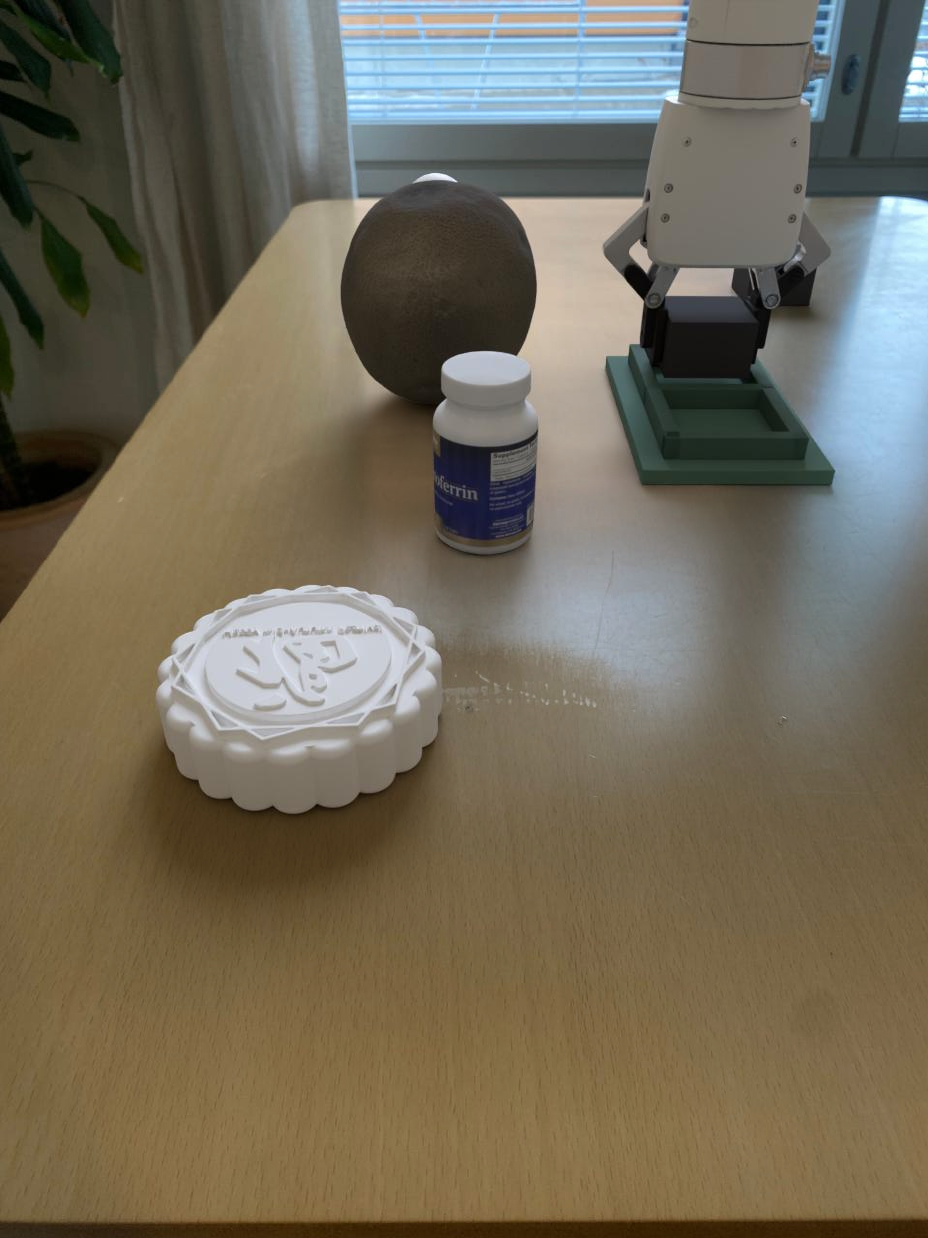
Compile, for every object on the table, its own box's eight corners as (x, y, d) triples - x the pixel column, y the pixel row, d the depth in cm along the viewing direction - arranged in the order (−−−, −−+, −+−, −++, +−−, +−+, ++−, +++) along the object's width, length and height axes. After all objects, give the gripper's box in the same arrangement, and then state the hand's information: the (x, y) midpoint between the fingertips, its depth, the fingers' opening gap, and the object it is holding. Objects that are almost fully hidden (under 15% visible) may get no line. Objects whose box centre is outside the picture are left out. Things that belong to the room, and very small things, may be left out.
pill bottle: (415, 526, 55) (409, 361, 49) (492, 499, 58) (495, 339, 52) (474, 569, 51) (475, 396, 46) (553, 537, 54) (564, 370, 48)
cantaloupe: (305, 406, 69) (282, 186, 61) (432, 354, 78) (428, 155, 69) (451, 462, 62) (449, 220, 53) (573, 397, 71) (589, 181, 62)
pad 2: (791, 286, 93) (800, 244, 91) (809, 305, 89) (818, 261, 86) (731, 286, 93) (737, 244, 91) (745, 305, 89) (752, 261, 86)
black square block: (730, 349, 72) (739, 295, 69) (748, 378, 67) (759, 322, 64) (651, 348, 72) (657, 295, 69) (664, 378, 67) (671, 322, 64)
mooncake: (138, 824, 37) (119, 756, 34) (194, 638, 46) (181, 577, 44) (447, 812, 37) (446, 745, 35) (438, 631, 47) (437, 570, 45)
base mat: (754, 367, 76) (760, 337, 74) (831, 484, 59) (841, 448, 58) (605, 367, 76) (607, 336, 74) (641, 484, 59) (645, 448, 58)
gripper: (861, 69, 61) (802, 340, 72) (596, 68, 62) (576, 339, 72) (904, 83, 55) (833, 377, 66) (610, 81, 55) (586, 376, 66)
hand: (699, 355), depth 69 cm, fingers closed on black square block, 6 cm apart
